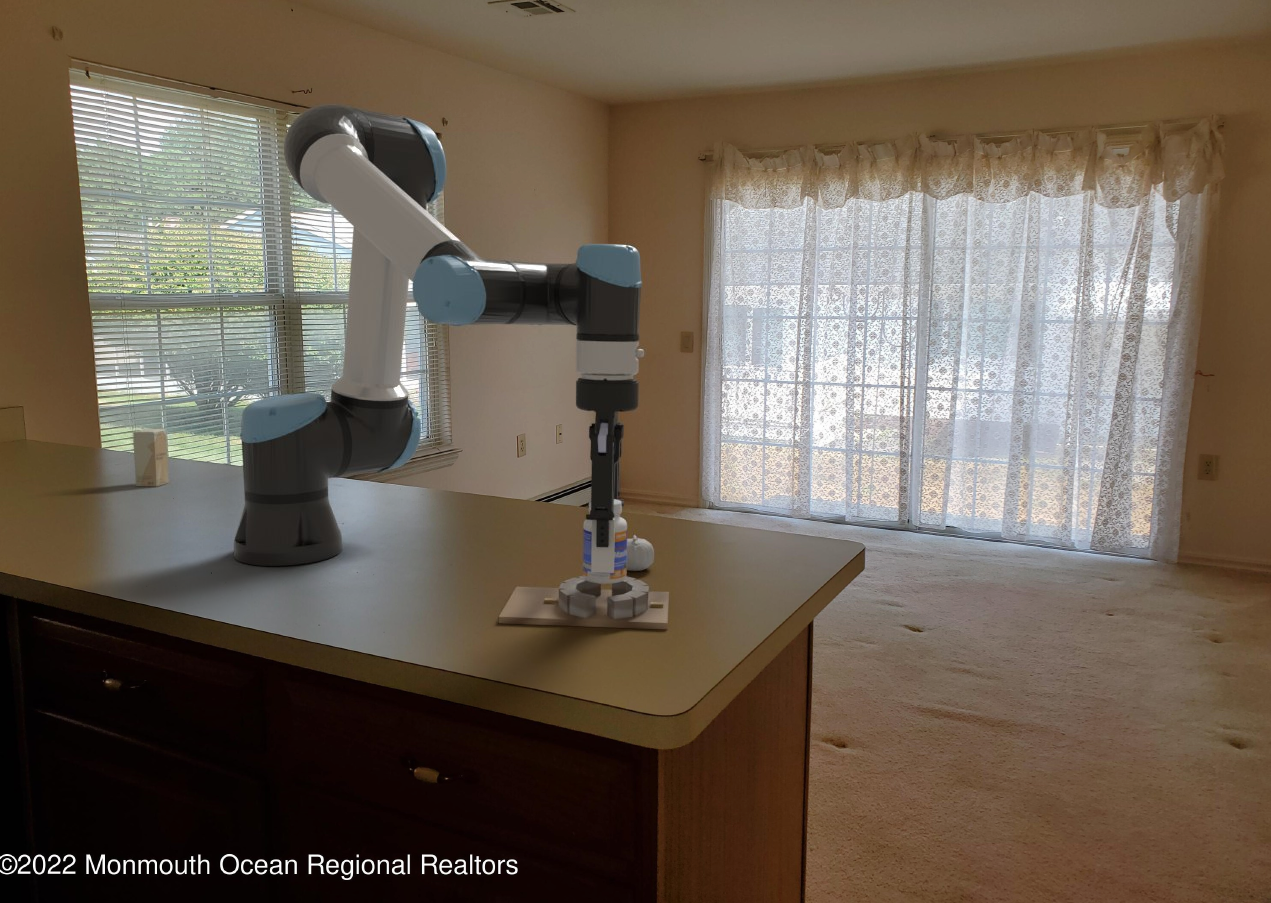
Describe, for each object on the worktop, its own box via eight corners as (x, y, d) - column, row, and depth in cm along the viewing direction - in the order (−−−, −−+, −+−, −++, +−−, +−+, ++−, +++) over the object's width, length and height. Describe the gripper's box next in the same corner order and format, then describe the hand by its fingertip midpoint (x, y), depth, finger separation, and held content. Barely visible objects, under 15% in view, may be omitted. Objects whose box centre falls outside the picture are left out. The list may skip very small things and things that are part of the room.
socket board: (498, 622, 109) (498, 598, 109) (516, 592, 121) (516, 570, 121) (667, 629, 108) (667, 604, 108) (668, 597, 120) (669, 575, 120)
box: (156, 487, 184) (153, 432, 182) (134, 486, 184) (131, 431, 182) (170, 482, 189) (166, 428, 187) (149, 481, 189) (145, 428, 187)
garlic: (640, 577, 129) (641, 541, 129) (608, 570, 132) (609, 535, 131) (662, 567, 134) (663, 532, 134) (631, 561, 137) (631, 527, 136)
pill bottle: (621, 586, 111) (622, 507, 109) (577, 583, 112) (578, 504, 110) (630, 574, 116) (632, 498, 115) (589, 570, 117) (589, 495, 116)
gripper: (634, 383, 101) (631, 587, 104) (642, 372, 119) (638, 546, 123) (566, 381, 101) (565, 585, 105) (584, 371, 119) (582, 545, 123)
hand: (604, 564), depth 114 cm, fingers closed on pill bottle, 5 cm apart
